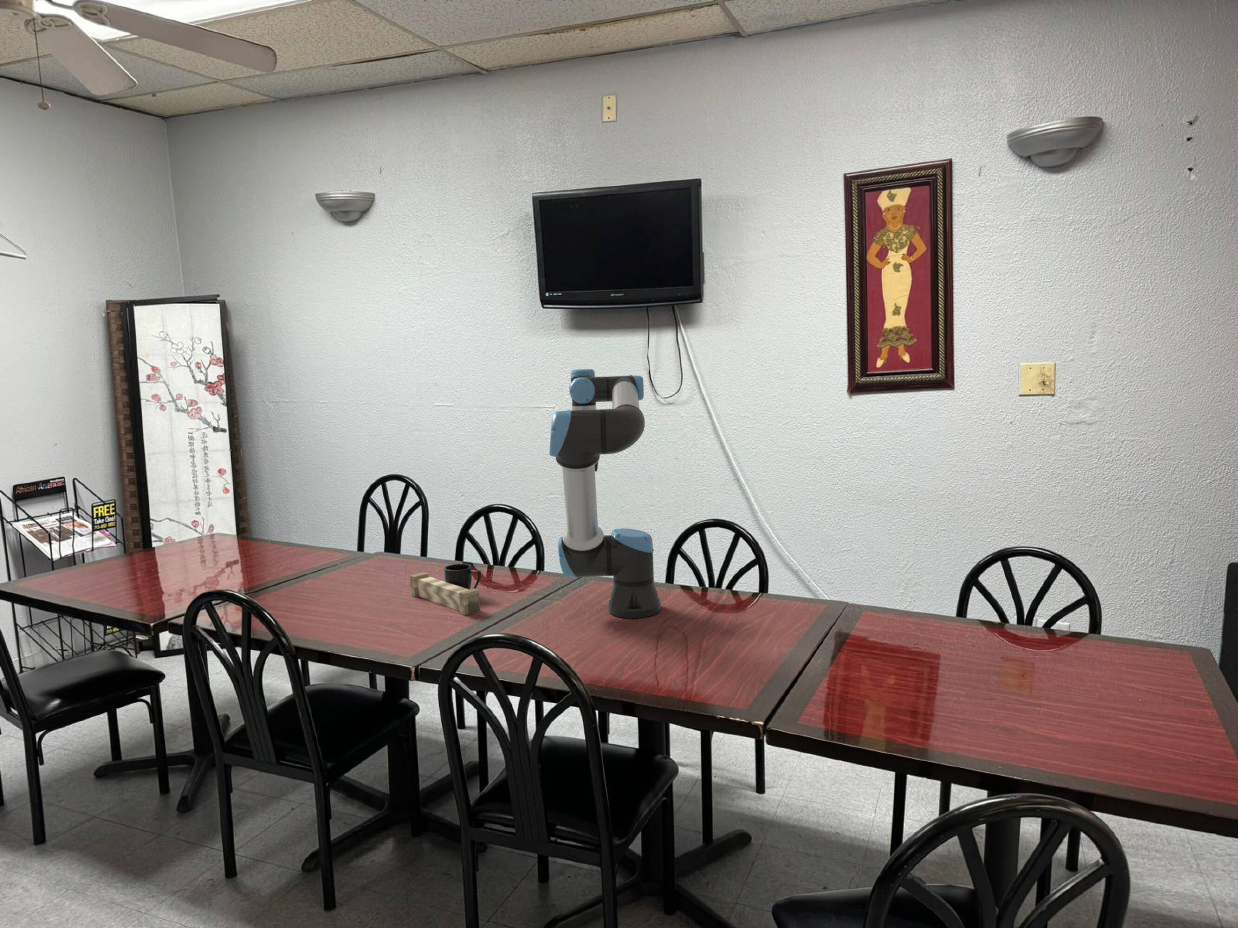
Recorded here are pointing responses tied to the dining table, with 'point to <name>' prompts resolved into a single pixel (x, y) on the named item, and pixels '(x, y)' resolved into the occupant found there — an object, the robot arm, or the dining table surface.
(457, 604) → the batten
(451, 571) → the mug
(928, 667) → the dining table surface
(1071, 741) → the dining table surface
